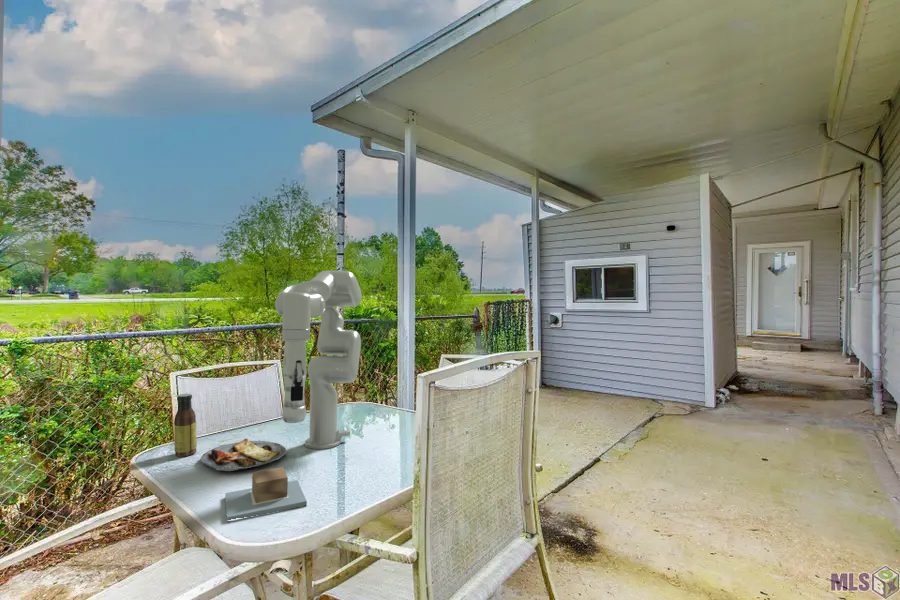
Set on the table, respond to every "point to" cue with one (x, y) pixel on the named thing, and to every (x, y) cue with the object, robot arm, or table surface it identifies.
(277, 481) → the block
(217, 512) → the table surface
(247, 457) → the food plate
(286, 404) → the plastic bottle
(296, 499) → the board
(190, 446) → the sauce bottle
